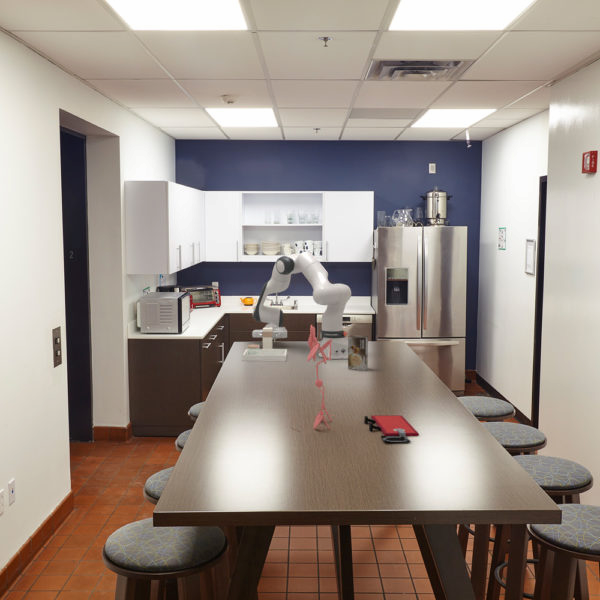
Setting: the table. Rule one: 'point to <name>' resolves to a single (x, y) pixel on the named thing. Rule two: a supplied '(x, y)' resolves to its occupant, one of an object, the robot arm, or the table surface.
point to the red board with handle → (392, 427)
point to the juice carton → (267, 338)
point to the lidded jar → (253, 349)
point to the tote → (266, 355)
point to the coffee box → (358, 352)
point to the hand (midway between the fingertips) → (269, 335)
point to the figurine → (314, 347)
